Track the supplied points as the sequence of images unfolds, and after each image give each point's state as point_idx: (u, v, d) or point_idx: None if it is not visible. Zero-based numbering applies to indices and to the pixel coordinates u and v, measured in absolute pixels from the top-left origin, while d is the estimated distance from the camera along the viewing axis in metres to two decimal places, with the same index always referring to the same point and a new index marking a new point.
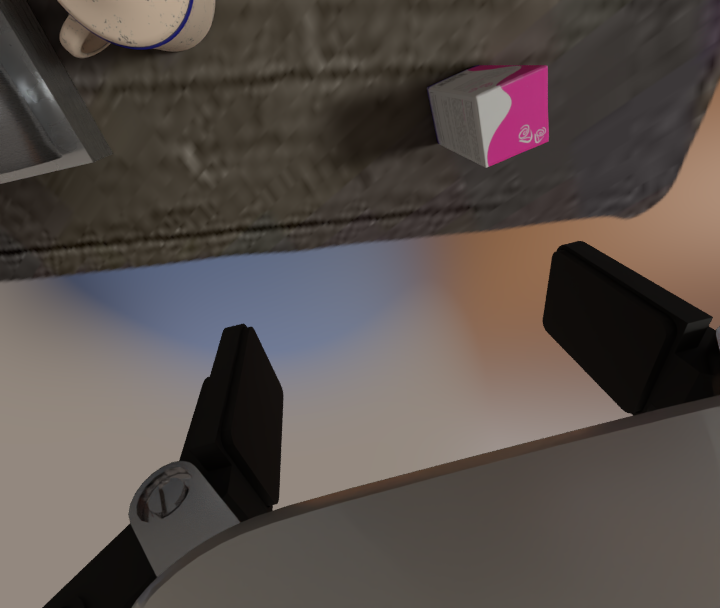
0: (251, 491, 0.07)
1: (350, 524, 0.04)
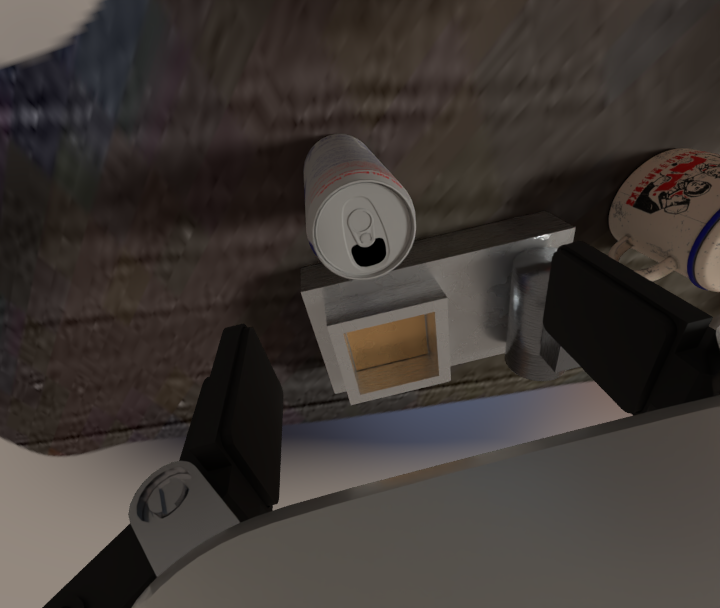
0: (250, 491, 0.07)
1: (350, 524, 0.04)
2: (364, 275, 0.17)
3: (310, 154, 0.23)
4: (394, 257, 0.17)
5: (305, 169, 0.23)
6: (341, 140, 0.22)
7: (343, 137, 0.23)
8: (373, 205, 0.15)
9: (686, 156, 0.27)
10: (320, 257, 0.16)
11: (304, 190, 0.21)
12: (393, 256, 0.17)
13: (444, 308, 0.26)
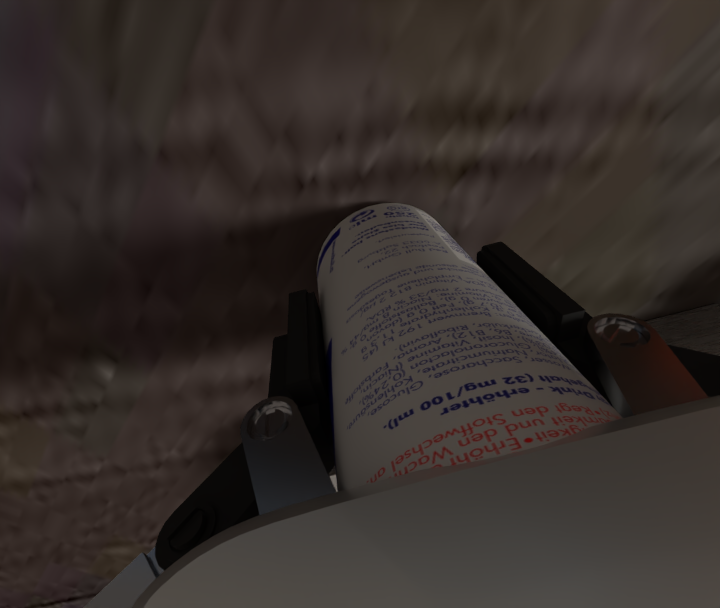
0: (329, 430, 0.08)
1: (350, 524, 0.04)
2: None
3: (333, 252, 0.11)
4: None
5: (323, 287, 0.11)
6: (405, 233, 0.10)
7: (403, 218, 0.11)
8: None
9: None
10: None
11: (326, 364, 0.09)
12: None
13: None
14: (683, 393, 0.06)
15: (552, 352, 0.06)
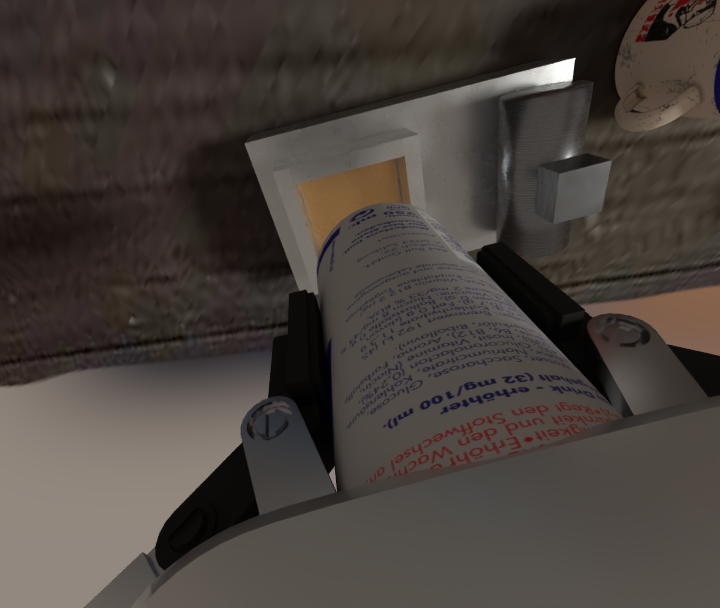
0: (329, 430, 0.08)
1: (350, 524, 0.04)
2: None
3: (333, 251, 0.11)
4: None
5: (323, 286, 0.11)
6: (404, 232, 0.10)
7: (403, 217, 0.11)
8: None
9: None
10: None
11: (325, 363, 0.09)
12: None
13: (416, 151, 0.21)
14: (683, 393, 0.06)
15: (552, 351, 0.06)
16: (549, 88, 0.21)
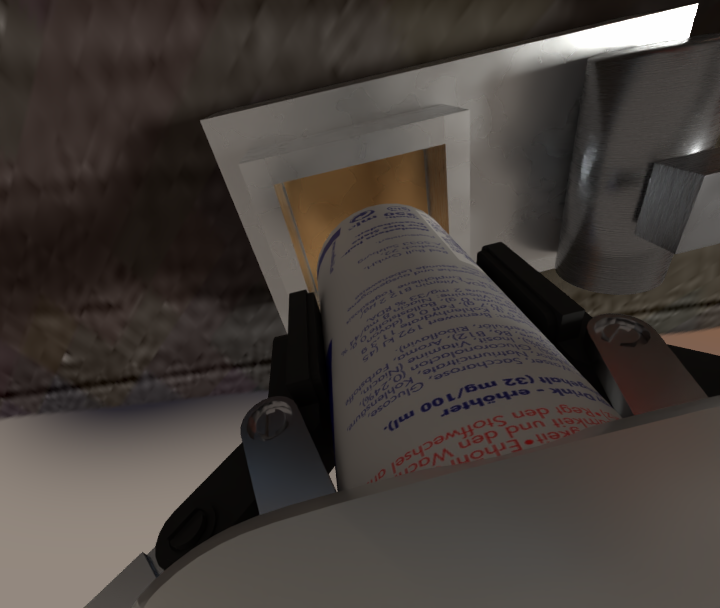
0: (329, 430, 0.08)
1: (350, 524, 0.04)
2: None
3: (333, 252, 0.11)
4: None
5: (323, 288, 0.11)
6: (405, 233, 0.10)
7: (403, 218, 0.11)
8: None
9: None
10: None
11: (326, 365, 0.09)
12: None
13: (463, 137, 0.14)
14: (683, 393, 0.06)
15: (552, 353, 0.06)
16: (669, 44, 0.14)
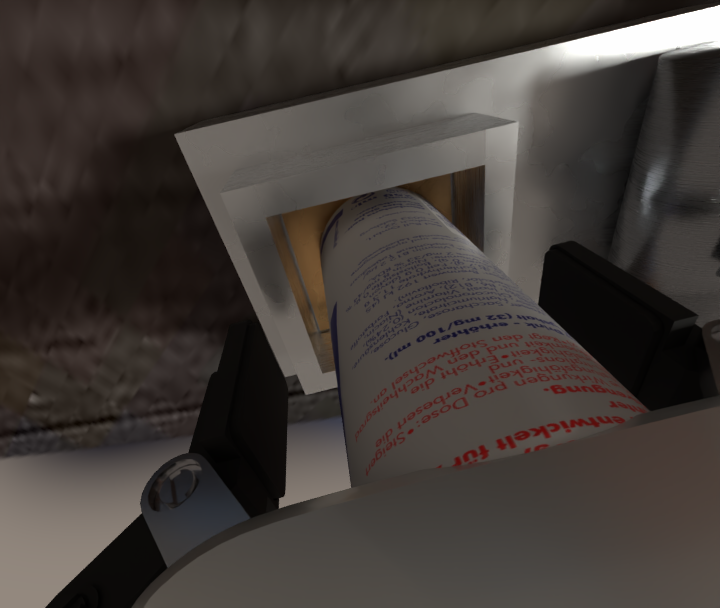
0: (258, 483, 0.08)
1: (350, 524, 0.04)
2: None
3: (336, 230, 0.12)
4: None
5: (327, 261, 0.12)
6: (403, 210, 0.11)
7: (401, 199, 0.12)
8: None
9: None
10: None
11: (331, 326, 0.10)
12: None
13: (508, 156, 0.11)
14: None
15: (530, 302, 0.07)
16: None
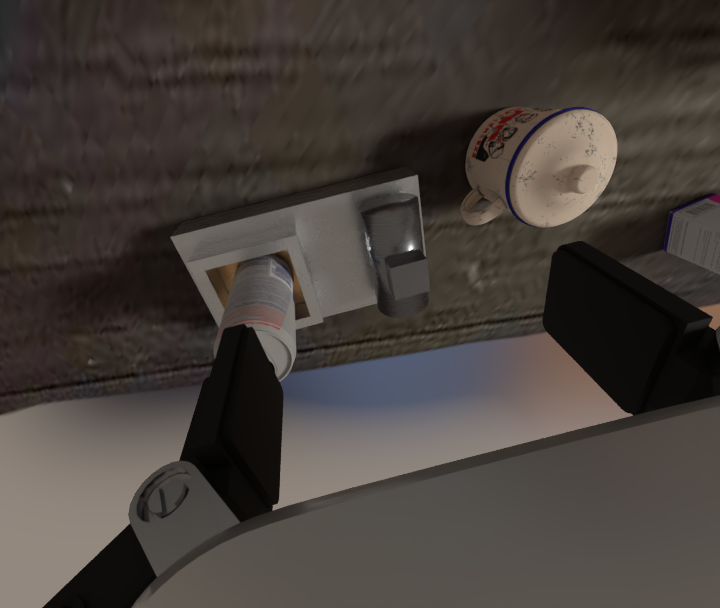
0: (251, 491, 0.07)
1: (350, 524, 0.04)
2: None
3: (236, 272, 0.30)
4: (281, 372, 0.24)
5: None
6: (257, 266, 0.28)
7: (261, 260, 0.29)
8: None
9: (512, 111, 0.30)
10: None
11: None
12: (280, 371, 0.24)
13: (296, 246, 0.28)
14: None
15: (272, 298, 0.25)
16: (393, 201, 0.29)
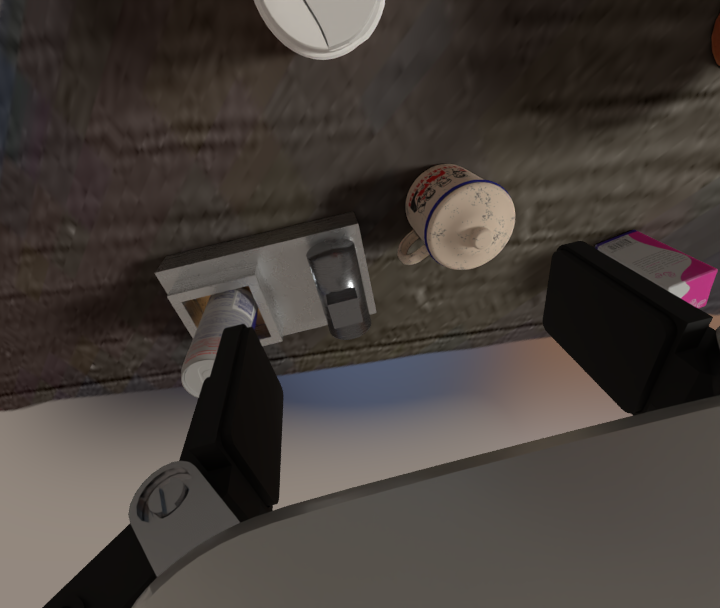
0: (251, 491, 0.07)
1: (350, 524, 0.04)
2: None
3: (208, 302, 0.36)
4: None
5: None
6: (223, 299, 0.35)
7: (228, 293, 0.36)
8: None
9: (439, 170, 0.36)
10: (190, 392, 0.30)
11: None
12: None
13: (255, 283, 0.35)
14: None
15: None
16: (335, 247, 0.35)
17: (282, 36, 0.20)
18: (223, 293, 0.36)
